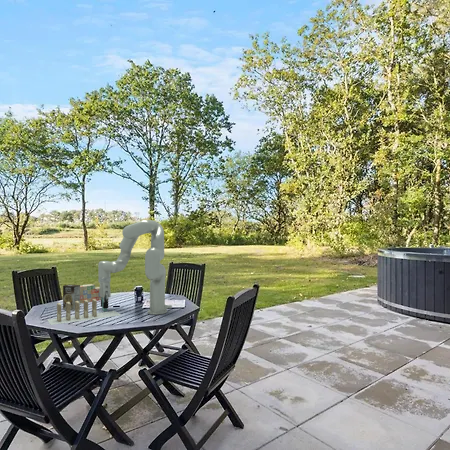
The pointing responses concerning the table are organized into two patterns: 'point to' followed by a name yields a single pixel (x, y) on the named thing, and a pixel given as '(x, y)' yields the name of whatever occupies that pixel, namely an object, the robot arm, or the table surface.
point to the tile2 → (94, 308)
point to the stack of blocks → (89, 293)
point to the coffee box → (71, 295)
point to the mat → (99, 315)
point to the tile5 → (68, 311)
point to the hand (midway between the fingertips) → (104, 307)
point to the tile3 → (85, 308)
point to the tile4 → (77, 309)
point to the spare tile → (102, 305)
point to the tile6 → (59, 312)
